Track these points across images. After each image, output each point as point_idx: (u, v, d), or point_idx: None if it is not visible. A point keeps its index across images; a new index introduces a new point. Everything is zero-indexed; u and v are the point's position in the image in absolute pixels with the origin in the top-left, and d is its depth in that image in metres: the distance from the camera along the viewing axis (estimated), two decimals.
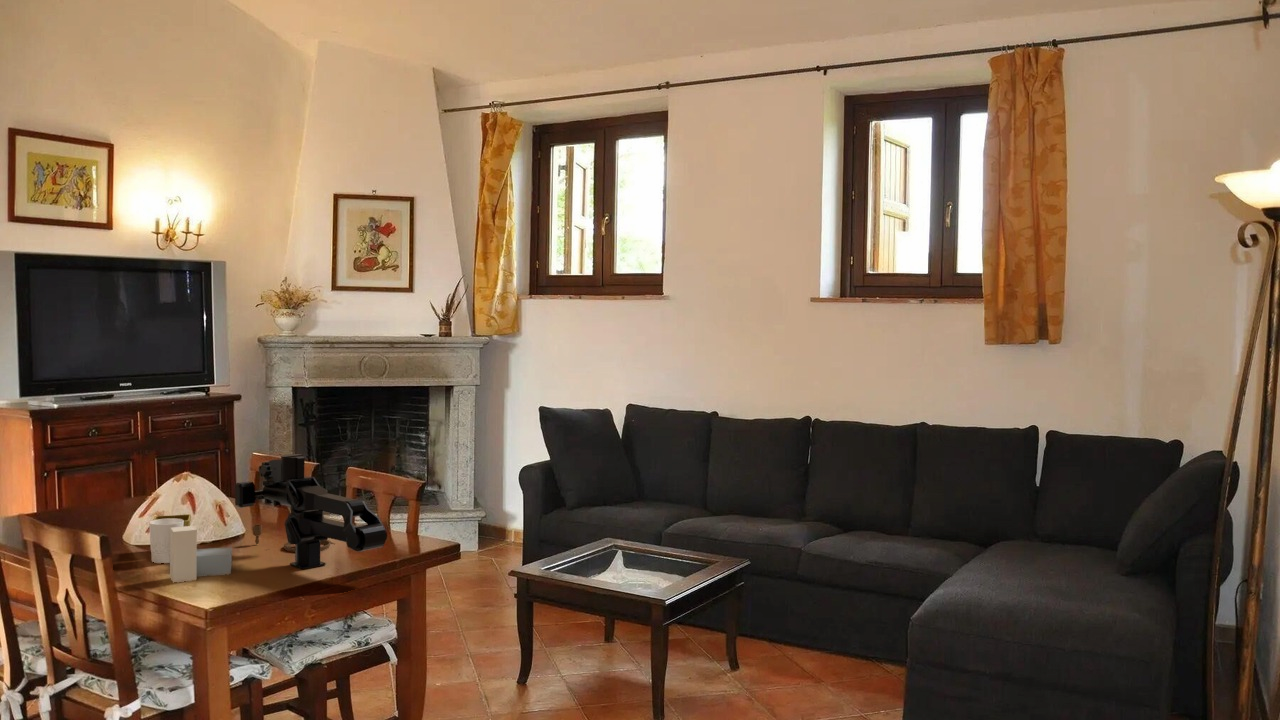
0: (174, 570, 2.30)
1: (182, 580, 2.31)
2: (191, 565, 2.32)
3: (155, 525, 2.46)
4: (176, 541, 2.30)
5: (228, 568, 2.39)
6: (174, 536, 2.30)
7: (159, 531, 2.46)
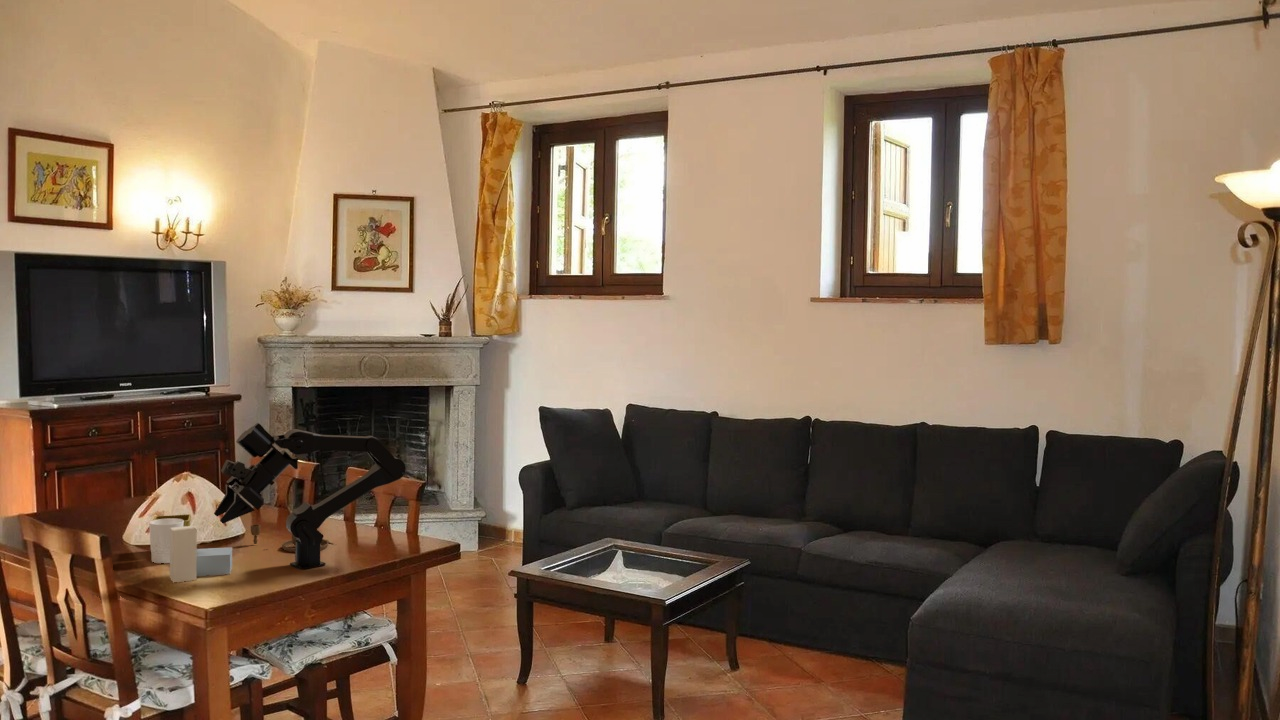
0: (174, 570, 2.30)
1: (182, 580, 2.31)
2: (191, 565, 2.32)
3: (155, 525, 2.46)
4: (176, 541, 2.30)
5: (228, 568, 2.38)
6: (174, 536, 2.30)
7: (159, 531, 2.46)
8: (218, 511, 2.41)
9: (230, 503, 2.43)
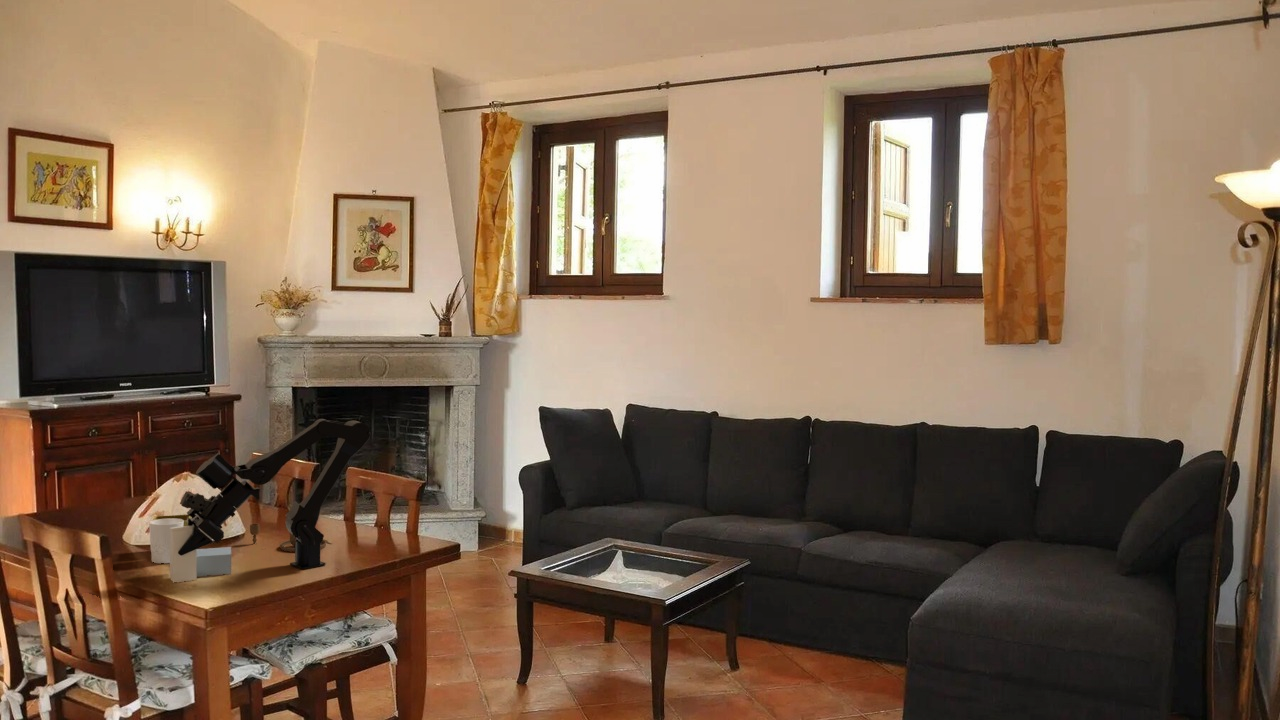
0: (174, 570, 2.30)
1: (182, 580, 2.31)
2: (191, 565, 2.32)
3: (155, 525, 2.46)
4: (176, 541, 2.30)
5: (229, 568, 2.39)
6: (174, 536, 2.30)
7: (159, 531, 2.46)
8: None
9: None
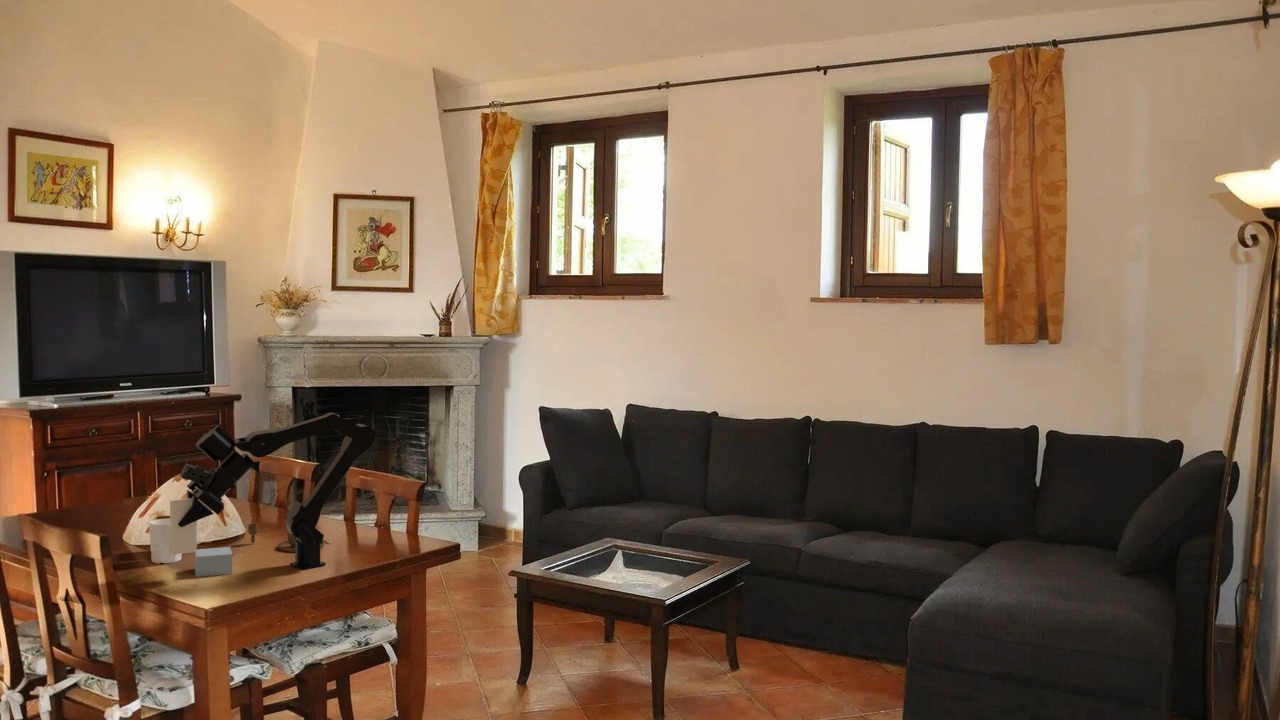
0: (174, 542, 2.30)
1: (182, 552, 2.31)
2: (191, 537, 2.32)
3: (155, 525, 2.46)
4: (176, 513, 2.30)
5: (230, 568, 2.39)
6: (174, 508, 2.29)
7: (159, 531, 2.46)
8: None
9: None
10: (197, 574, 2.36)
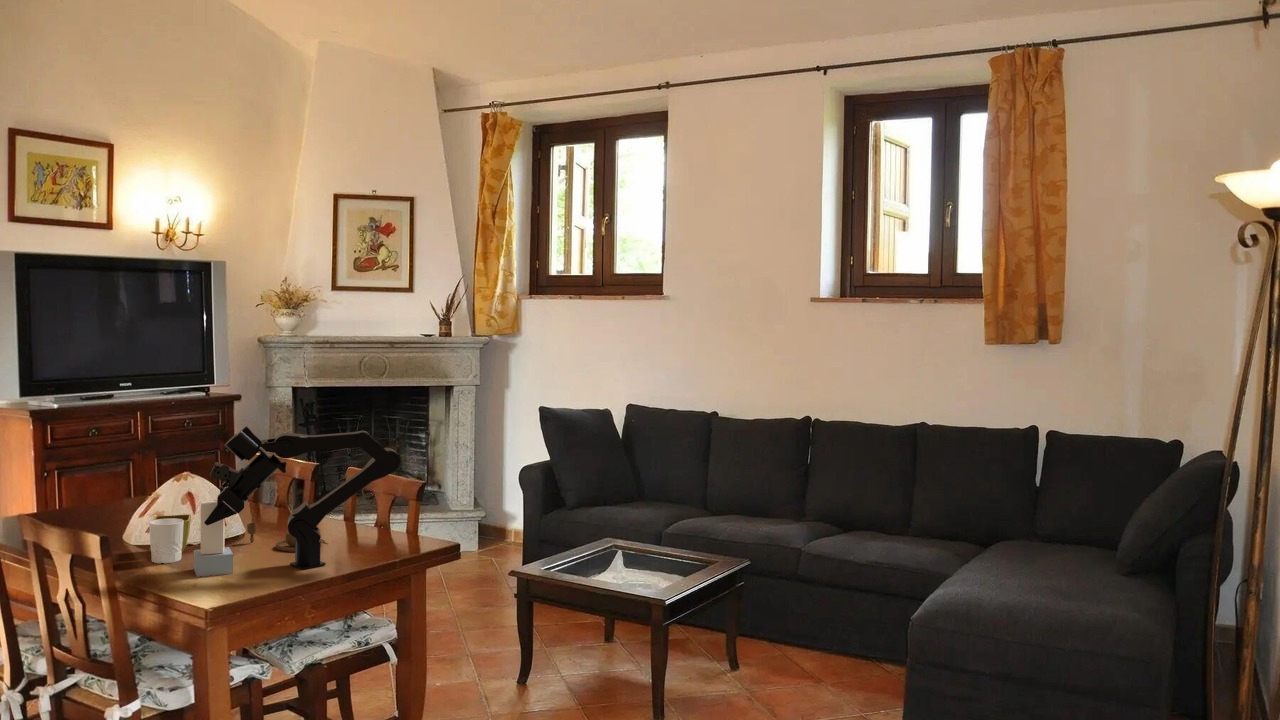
0: (201, 542, 2.38)
1: (209, 552, 2.38)
2: (217, 538, 2.39)
3: (155, 525, 2.46)
4: (203, 514, 2.38)
5: (231, 567, 2.39)
6: (201, 509, 2.38)
7: (159, 531, 2.46)
8: None
9: None
10: (198, 574, 2.36)
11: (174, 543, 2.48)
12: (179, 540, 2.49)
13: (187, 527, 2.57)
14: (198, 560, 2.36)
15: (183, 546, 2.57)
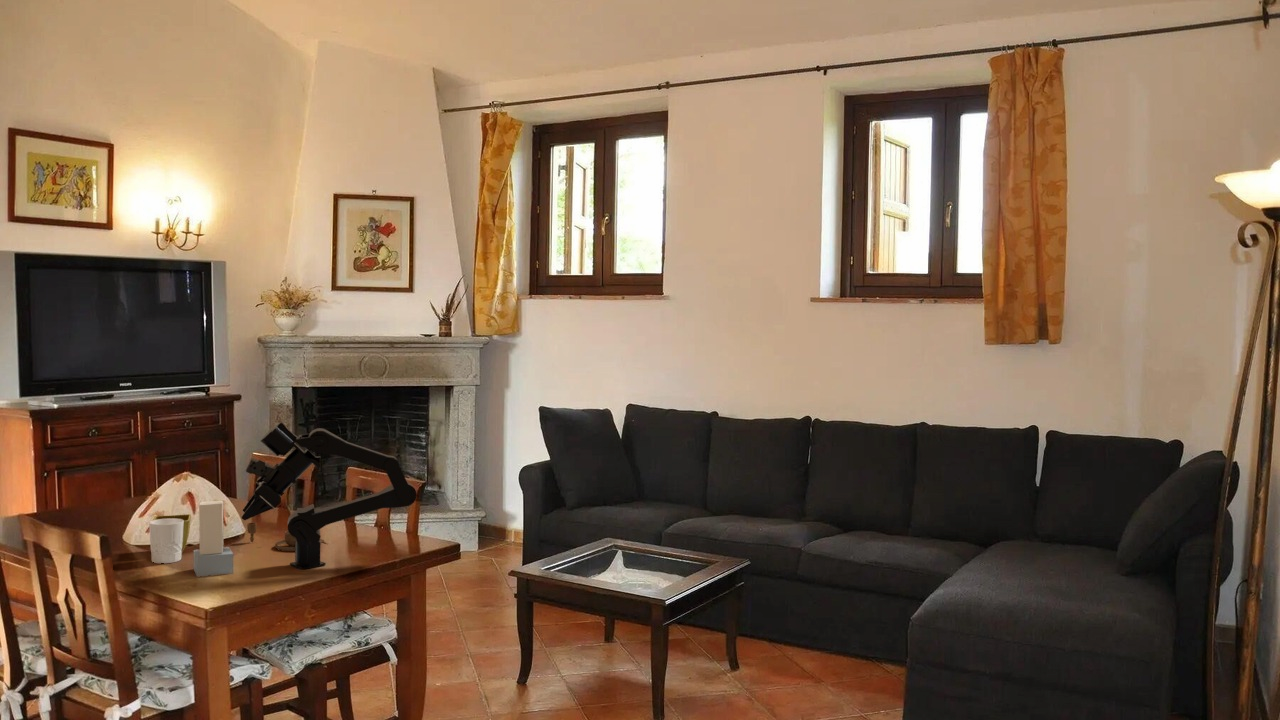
0: (200, 542, 2.38)
1: (208, 552, 2.38)
2: (216, 538, 2.39)
3: (155, 525, 2.46)
4: (202, 515, 2.38)
5: (231, 567, 2.40)
6: (200, 509, 2.37)
7: (159, 531, 2.46)
8: (246, 508, 2.47)
9: None
10: (199, 574, 2.36)
11: (174, 543, 2.48)
12: (179, 540, 2.49)
13: (187, 527, 2.57)
14: (198, 560, 2.36)
15: (183, 546, 2.57)
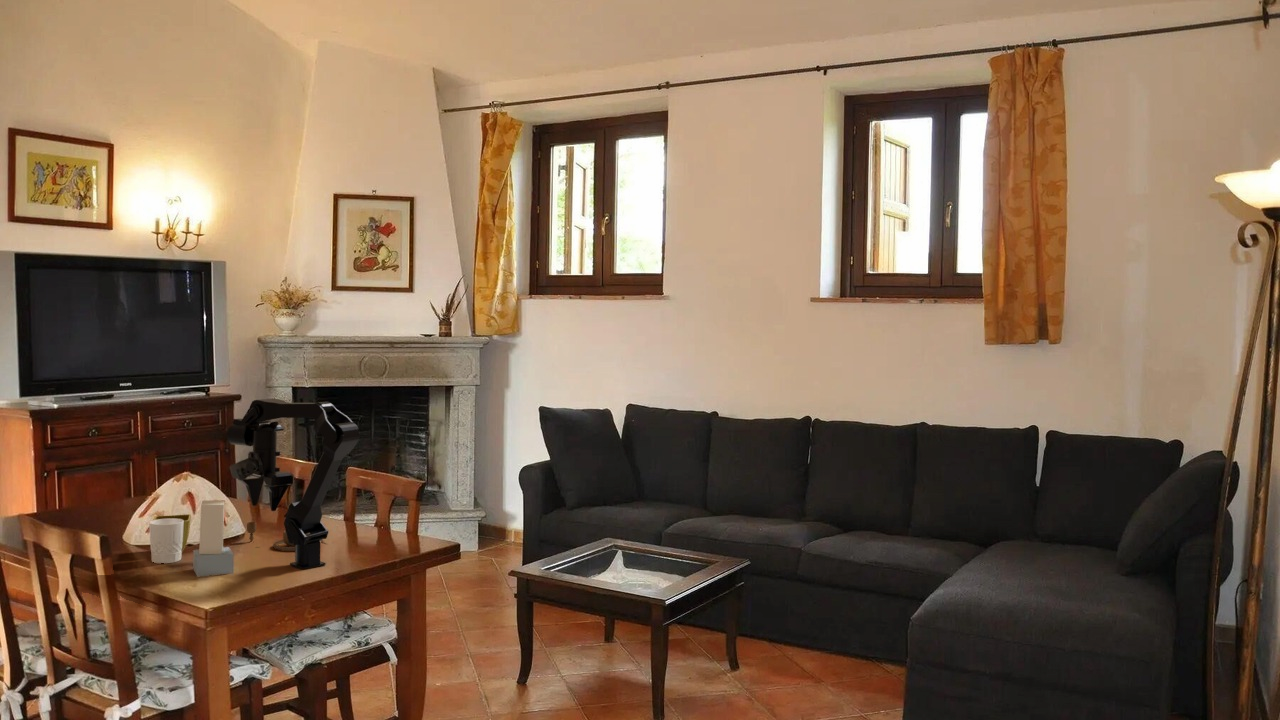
0: (200, 542, 2.38)
1: (208, 552, 2.38)
2: (216, 538, 2.39)
3: (155, 525, 2.46)
4: (203, 515, 2.37)
5: (231, 567, 2.40)
6: (201, 509, 2.37)
7: (159, 531, 2.46)
8: (254, 501, 2.56)
9: (256, 488, 2.57)
10: (199, 574, 2.36)
11: (174, 543, 2.48)
12: (179, 540, 2.49)
13: (187, 527, 2.57)
14: (199, 560, 2.36)
15: (183, 546, 2.57)
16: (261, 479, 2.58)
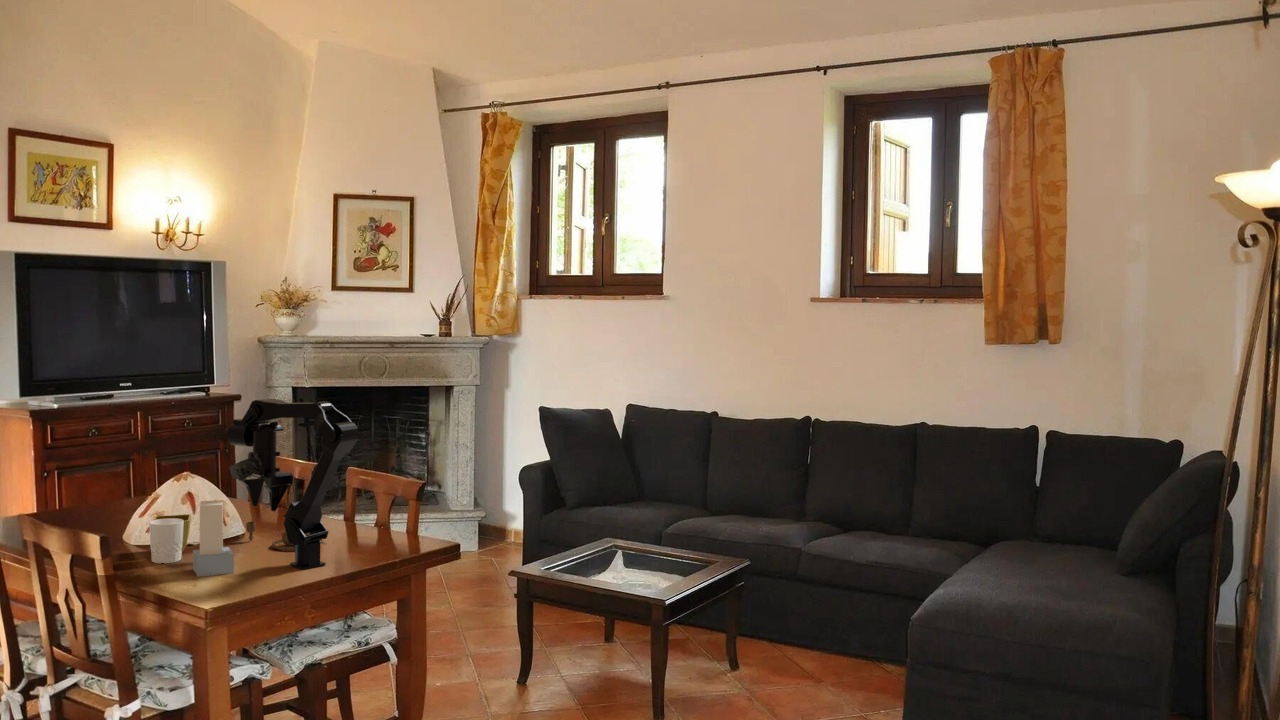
0: (200, 543, 2.38)
1: (208, 553, 2.38)
2: (216, 538, 2.39)
3: (155, 525, 2.46)
4: (202, 515, 2.37)
5: (231, 567, 2.40)
6: (200, 510, 2.37)
7: (159, 531, 2.46)
8: (254, 501, 2.57)
9: (256, 489, 2.57)
10: (199, 574, 2.36)
11: (174, 543, 2.48)
12: (179, 540, 2.49)
13: (187, 527, 2.57)
14: (199, 560, 2.36)
15: (183, 546, 2.57)
16: (261, 479, 2.59)
